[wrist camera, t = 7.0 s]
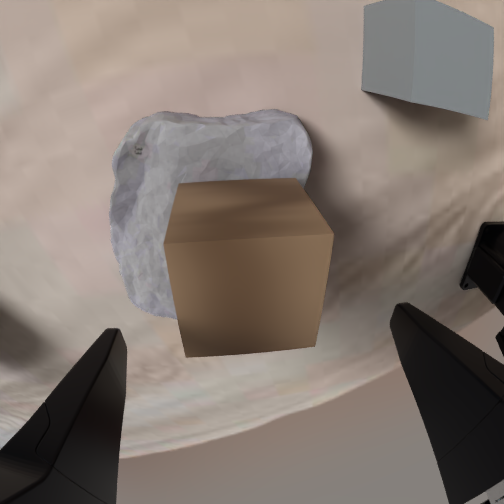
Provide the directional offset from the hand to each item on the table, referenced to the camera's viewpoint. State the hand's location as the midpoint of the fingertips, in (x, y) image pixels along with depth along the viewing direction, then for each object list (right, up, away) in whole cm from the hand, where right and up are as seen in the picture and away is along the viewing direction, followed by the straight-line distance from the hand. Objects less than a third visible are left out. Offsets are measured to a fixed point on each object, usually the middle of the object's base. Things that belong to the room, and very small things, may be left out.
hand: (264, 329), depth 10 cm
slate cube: (+8, +13, +4) cm, 16 cm away
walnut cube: (-1, +3, +5) cm, 6 cm away
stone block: (-3, +5, +9) cm, 11 cm away
